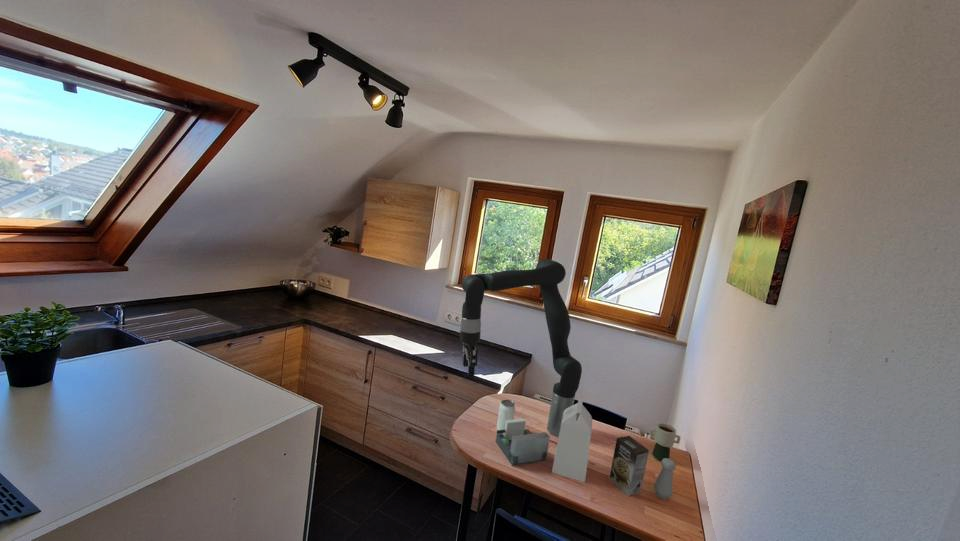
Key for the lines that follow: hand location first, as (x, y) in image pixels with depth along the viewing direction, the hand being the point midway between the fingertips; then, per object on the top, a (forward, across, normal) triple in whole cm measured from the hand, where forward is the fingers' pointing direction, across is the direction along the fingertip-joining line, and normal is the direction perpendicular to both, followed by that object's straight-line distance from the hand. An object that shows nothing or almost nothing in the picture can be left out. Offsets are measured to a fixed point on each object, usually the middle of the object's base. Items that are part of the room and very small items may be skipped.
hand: (468, 370), depth 147 cm
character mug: (+34, -18, -76) cm, 85 cm away
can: (+30, +6, -18) cm, 35 cm away
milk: (+31, -20, -35) cm, 51 cm away
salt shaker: (+33, -37, -61) cm, 79 cm away
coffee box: (+32, -31, -50) cm, 67 cm away
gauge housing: (+30, -9, -20) cm, 37 cm away
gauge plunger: (+28, -3, -17) cm, 33 cm away
